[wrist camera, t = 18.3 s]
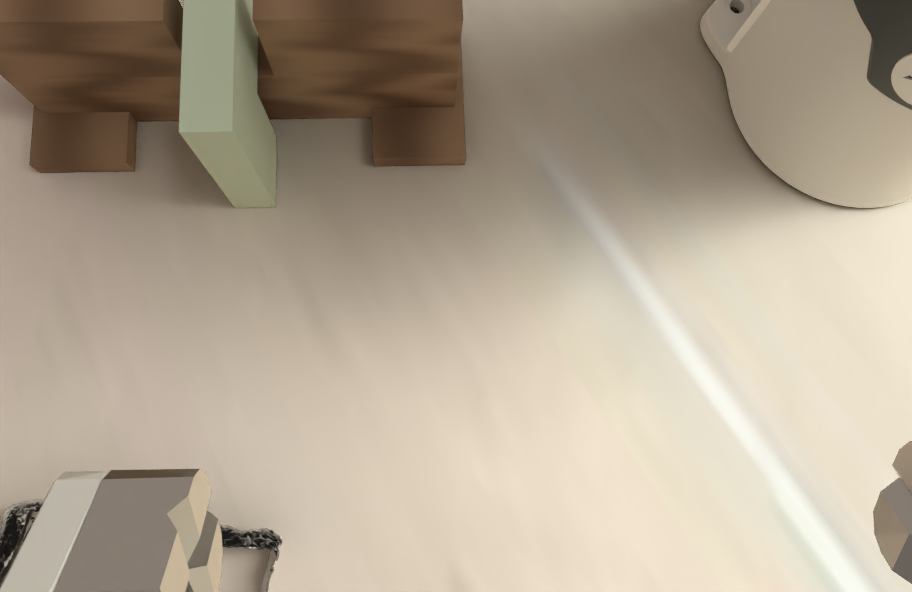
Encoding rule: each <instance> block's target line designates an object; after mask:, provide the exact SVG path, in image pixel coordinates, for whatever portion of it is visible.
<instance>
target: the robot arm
mask: <svg viewBox="0 0 912 592" xmlns="http://www.w3.org/2000/svg"><path fill="white" fill-rule="evenodd" d="M730 7H734V8H736V9H737V10H738V11H739V13H734V12H733V11H731V9H730ZM700 29H701V33H702V36H703V38H704V40H705V42H706V44H707V45H708V47H709V49H710V50H711V52H712V53H713V55H714V56H715V58H716V59H717V61H718V62H719V63H720V65H721V66H722V69H723V72H724V75H725V79H726V84H727V90H728V95H729V100H730V104H731V108H732V111H733V114H734V117H735V120H736V122H737V124H738V127H739V129H740V131H741V133H742V134H743V136H744V138H745V139H746V141H747V143H748V144H749V146H750V147H751V148H752V150H753V151H754V152H755V154H756V155H757V156H758V157H759V159H760V160H761V161H762V162H763V163H764V164H765V165H766V166H767V167H768V168H769V169H770V170H771V171H772V172H774V173H775V174H776V175H777V176H778V177H780V178H781V179H782V180H784V181H785V182H787V183H788V184H790V185H791V186H793V187H794V188H796V189H798V190H800V191H802V192H803V193H805V194H808V195H810V196H812V197H814V198H817V199H820V200H822V201H826V202H829V203H832V204H837V205H841V206H847V207H856V208H877V207H885V206H890V205H895V204H899V203H902V202H905V201H908V200H911V199H912V0H715V1H714V3H713V4H712V5H711V6H710V7H709V9H708V10H707V11H706V12H705V14H704V15H703V17H702V19H701V22H700ZM893 467H894V469H895V471H896V473H897V475H898V477H899V478H898V479H897V480H895V481H894V482H893V483H891V484H890V485H889V486H887V487H886V488H885V489H883V490H882V491H881V492H880V495H879V497H878V500H877V503H876V506H875V508H874V511H873V516H874V532H875V537H876V539H877V542H878V545H879V548H880V551H881V553H882V555H883V556H884V558H885V560H886V561H887V563H888V565H889V566H890V568H891V569H892V571H894V572H895V573H897V574H898V575H900V576H901V577H902V578H904V579H905V580H907V581H908V582H910V583H911V584H912V441H910V442H908V443H907V444H906V445H904V446H903V447H902V448H901V449H899V451H898V454H897V456H896V458H895V460H894V462H893ZM211 493H212V491H211V488H210V484H209V481H208V477H207V474H206V471H203V470H201V469H164V470H111V471H84V472H65V473H64V474H62V475H61V476H60V477H59V478H58V479H57V480H56V481H55V482H54V483H53V485H52V487H51V489H50V491H49V492H48V494H47V496H46V498H45V500H44V502H43V504H42V506H41V508H40V510H39V512H38V514H37V516H36V518H35V520H34V522H33V524H32V526H31V528H30V530H29V532H28V534H27V536H26V538H25V540H24V542H23V544H22V546H21V548H20V550H19V552H18V554H17V556H16V558H15V560H14V562H13V564H12V566H11V568H10V570H9V572H8V574H7V576H6V578H5V580H4V581H3V583H2V585H1V587H0V592H218V591H219V586H220V581H221V572H222V559H223V547H222V534H221V530H220V525H219V521H218V519H217V518H216V517H215V516H213V515H212V514H211V513H210V512H208V511H207V508H208V505H209V501H210V497H211Z"/></svg>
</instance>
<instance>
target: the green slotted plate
mask: <svg viewBox="0 0 912 592" xmlns="http://www.w3.org/2000/svg"><path fill="white" fill-rule="evenodd" d="M252 18H253V0H184V3H183V30H182V56H181V83H180V110H179V133H180V135H181V136H182V137H183V139H184V140H185V141H186V143H187V144H188V146H189V147H190V148H191V150H192V151H193V152H194V154H195V155H196V156H197V158H198V159H199V160H200V162H201V163H202V164H203V166H204V167H205V168H206V170H207V171H208V172H209V174H210V175H211V176H212V178H213V179H214V180H215V182H216V183H217V184H218V186H219V187H220V189H221V190H222V191H223V193H224V194H225V195H226V197H227V198H228V199H229V201H230V202H231V203H232V205H233V206H234V207H235V208H255V207H276V151H277V136H276V134H275V132H274V129H273V127H272V125H271V123H270V120H269V118H268V116H267V114H266V112H265V109H264V107H263V105H262V103H261V100H260V98H259V96H258V94H257V80H258V33H257V30H256V28H255V25H254V22H253V20H252Z"/></svg>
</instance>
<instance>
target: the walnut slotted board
mask: <svg viewBox="0 0 912 592" xmlns="http://www.w3.org/2000/svg"><path fill="white" fill-rule="evenodd" d="M252 20H253V22H254V25H255V28H256V30H257V33H258V80H257V94H258V96H259V98H260V100H261V103H262V105H263V107H264V109H265V112H266V114H267V116H268V118H269V119H308V118H370V117H372V132H373V162H374V166H418V165H465V158H466V151H465V128H464V104H463V80H462V57H461V32H462V22H463V9H462V0H253V18H252ZM182 30H183V8H182V6H181V4H180V2H179V0H0V74H1V75H2V76H3V77H4V78H5V79H6V80H7V81H8V82H10V83H11V84H12V85H13V86H14V87H15V88H16V89H17V90H18V91H19V92H21V93H22V94H23V95H24V96H25V97H26V98H27V99H28V100H29V101H30V102H31V103H33V104H34V113H33V126H32V139H31V152H30V164H29V165H31V166H32V167H33V168H35V169H36V170H37V171H39V172H40V173H54V172H106V171H135V152H136V132H137V121H179V110H180V83H181V56H182Z"/></svg>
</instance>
